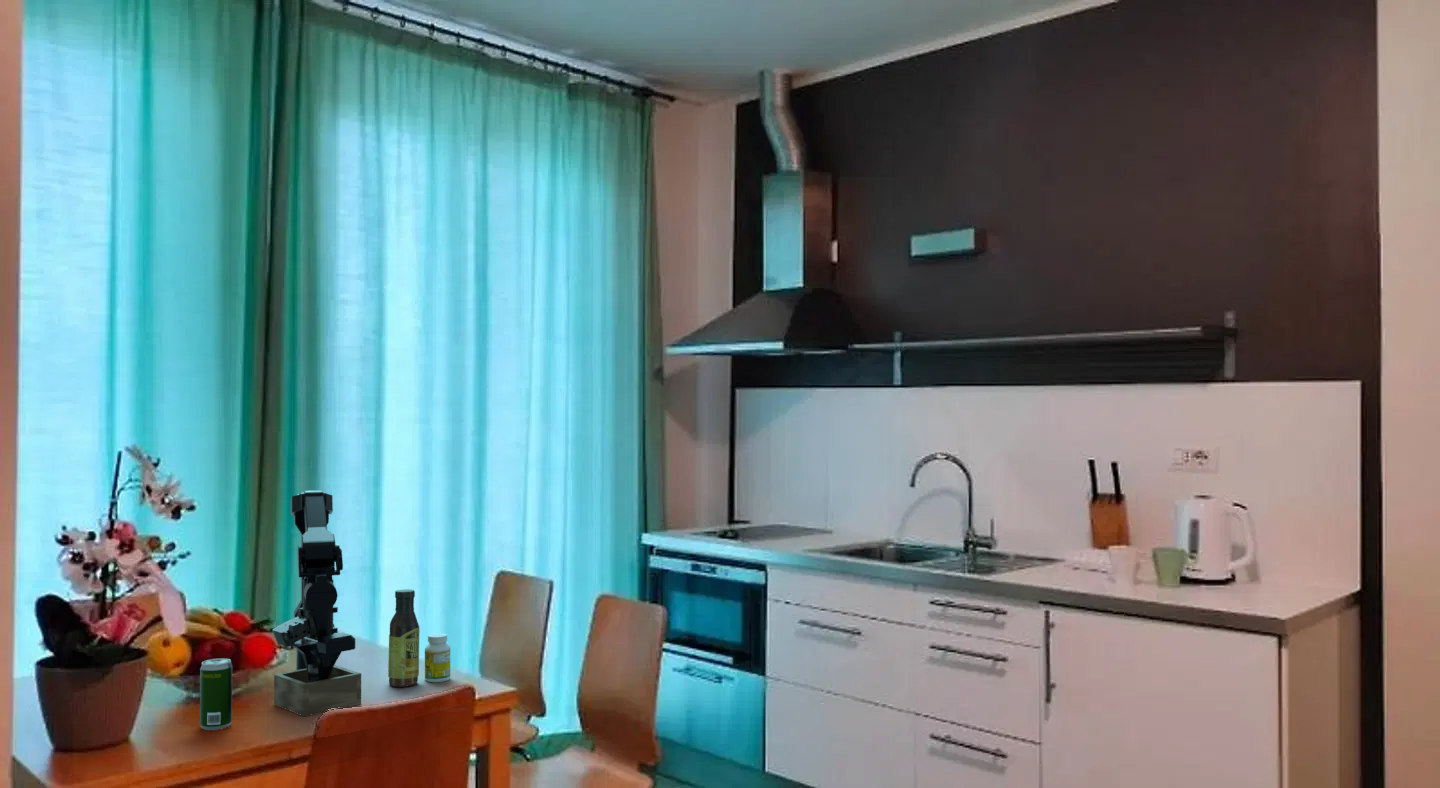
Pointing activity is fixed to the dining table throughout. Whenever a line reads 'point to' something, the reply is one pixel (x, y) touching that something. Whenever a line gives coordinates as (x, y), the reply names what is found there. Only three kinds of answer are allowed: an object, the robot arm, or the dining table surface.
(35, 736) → the dining table surface
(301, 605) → the robot arm
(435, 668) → the supplement bottle
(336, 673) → the frame
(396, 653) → the sauce bottle
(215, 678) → the beer can
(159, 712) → the dining table surface
